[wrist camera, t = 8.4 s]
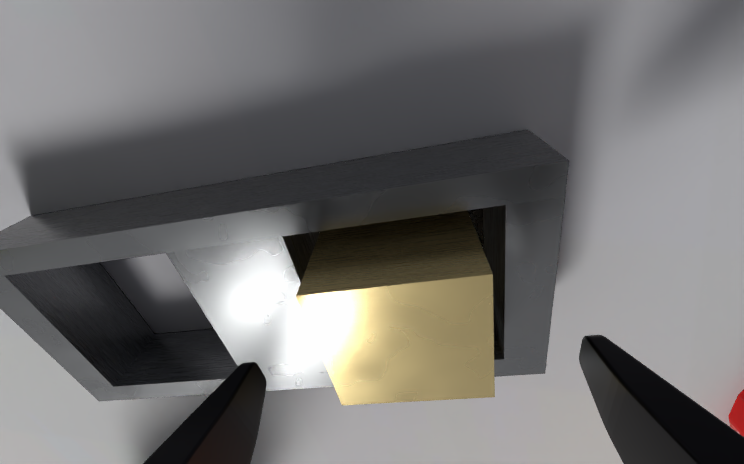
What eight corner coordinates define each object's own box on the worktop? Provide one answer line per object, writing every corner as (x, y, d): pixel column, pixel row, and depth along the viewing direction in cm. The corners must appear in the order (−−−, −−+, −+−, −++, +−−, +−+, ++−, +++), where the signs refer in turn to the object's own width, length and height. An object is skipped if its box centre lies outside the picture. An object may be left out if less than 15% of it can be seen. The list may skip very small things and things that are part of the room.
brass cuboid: (357, 301, 15) (342, 405, 11) (328, 208, 13) (296, 296, 9) (465, 290, 15) (494, 397, 10) (458, 188, 12) (492, 273, 8)
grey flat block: (140, 348, 18) (98, 401, 16) (29, 216, 14) (-54, 258, 11) (519, 315, 15) (545, 373, 12) (528, 129, 11) (569, 160, 8)
